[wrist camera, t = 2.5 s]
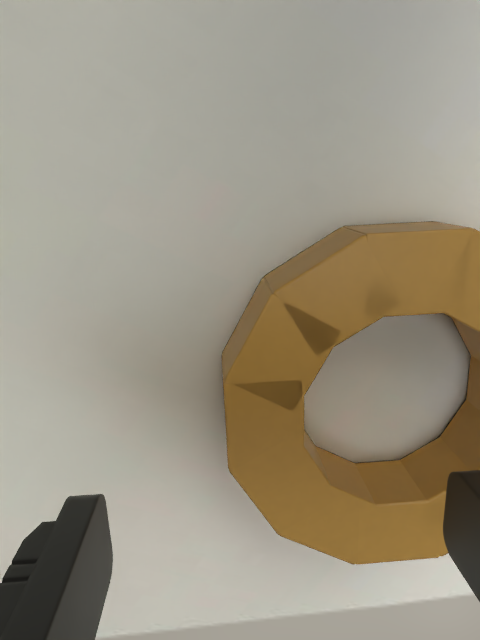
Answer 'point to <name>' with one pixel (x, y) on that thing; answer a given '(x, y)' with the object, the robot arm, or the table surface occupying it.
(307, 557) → the table surface
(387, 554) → the ring
